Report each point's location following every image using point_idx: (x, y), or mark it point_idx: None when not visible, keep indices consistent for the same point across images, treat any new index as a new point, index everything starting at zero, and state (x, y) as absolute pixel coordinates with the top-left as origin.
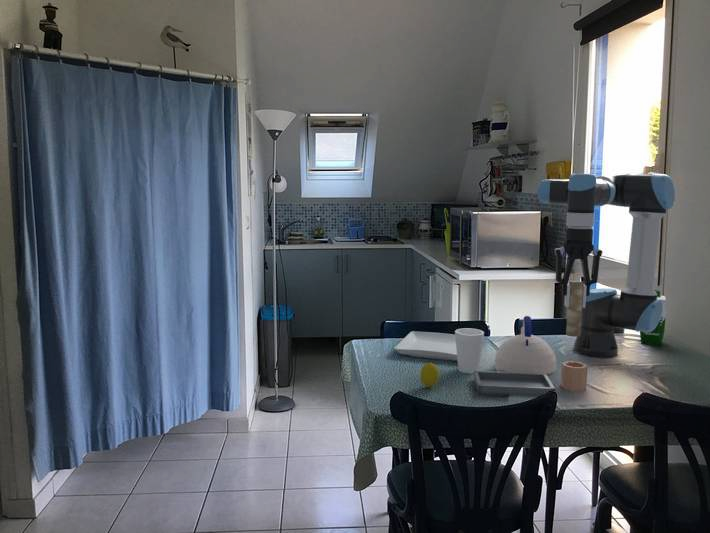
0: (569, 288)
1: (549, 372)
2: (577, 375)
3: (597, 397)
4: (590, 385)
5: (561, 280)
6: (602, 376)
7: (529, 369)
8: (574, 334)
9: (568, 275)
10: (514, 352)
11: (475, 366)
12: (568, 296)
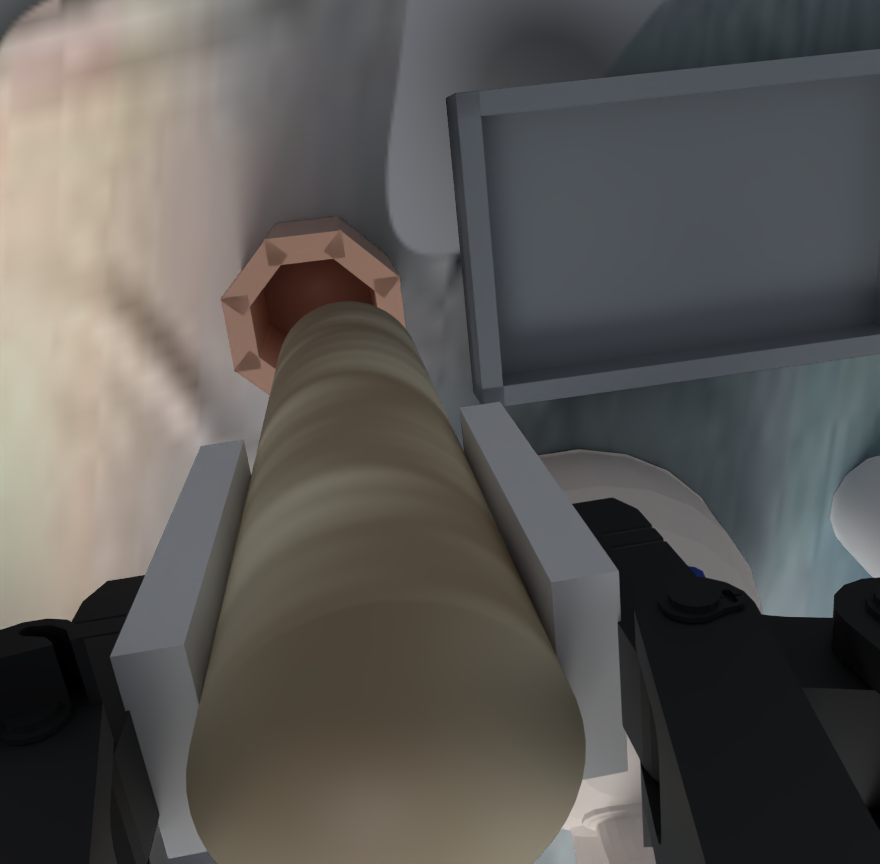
0: (546, 542)
1: None
2: (300, 229)
3: (174, 190)
4: (204, 415)
5: (853, 622)
6: None
7: (575, 475)
8: (343, 306)
9: (737, 772)
10: (698, 559)
11: (875, 480)
12: (514, 470)
